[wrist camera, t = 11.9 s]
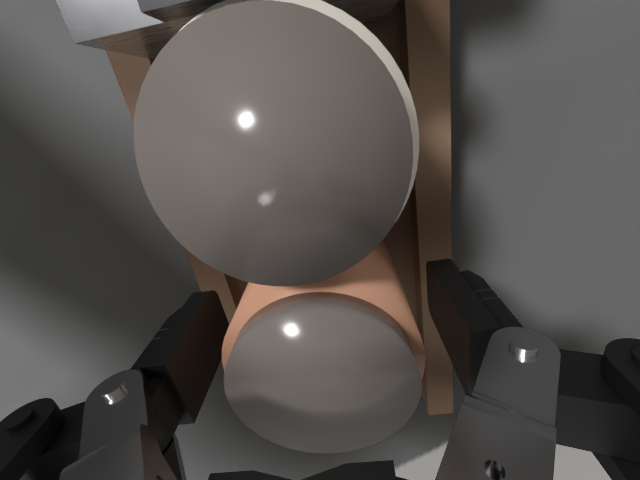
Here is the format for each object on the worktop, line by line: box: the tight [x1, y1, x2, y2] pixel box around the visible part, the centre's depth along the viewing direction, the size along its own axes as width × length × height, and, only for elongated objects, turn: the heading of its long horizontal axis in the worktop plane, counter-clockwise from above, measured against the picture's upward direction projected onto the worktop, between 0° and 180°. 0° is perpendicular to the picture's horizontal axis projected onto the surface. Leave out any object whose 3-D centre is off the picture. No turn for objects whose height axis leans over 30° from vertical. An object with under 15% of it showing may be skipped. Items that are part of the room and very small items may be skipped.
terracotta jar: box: [222, 239, 425, 454], centre depth 11 cm, size 6×6×6 cm
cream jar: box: [134, 0, 419, 286], centre depth 8 cm, size 6×6×6 cm
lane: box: [106, 0, 453, 415], centre depth 11 cm, size 22×10×5 cm, turn 10°
